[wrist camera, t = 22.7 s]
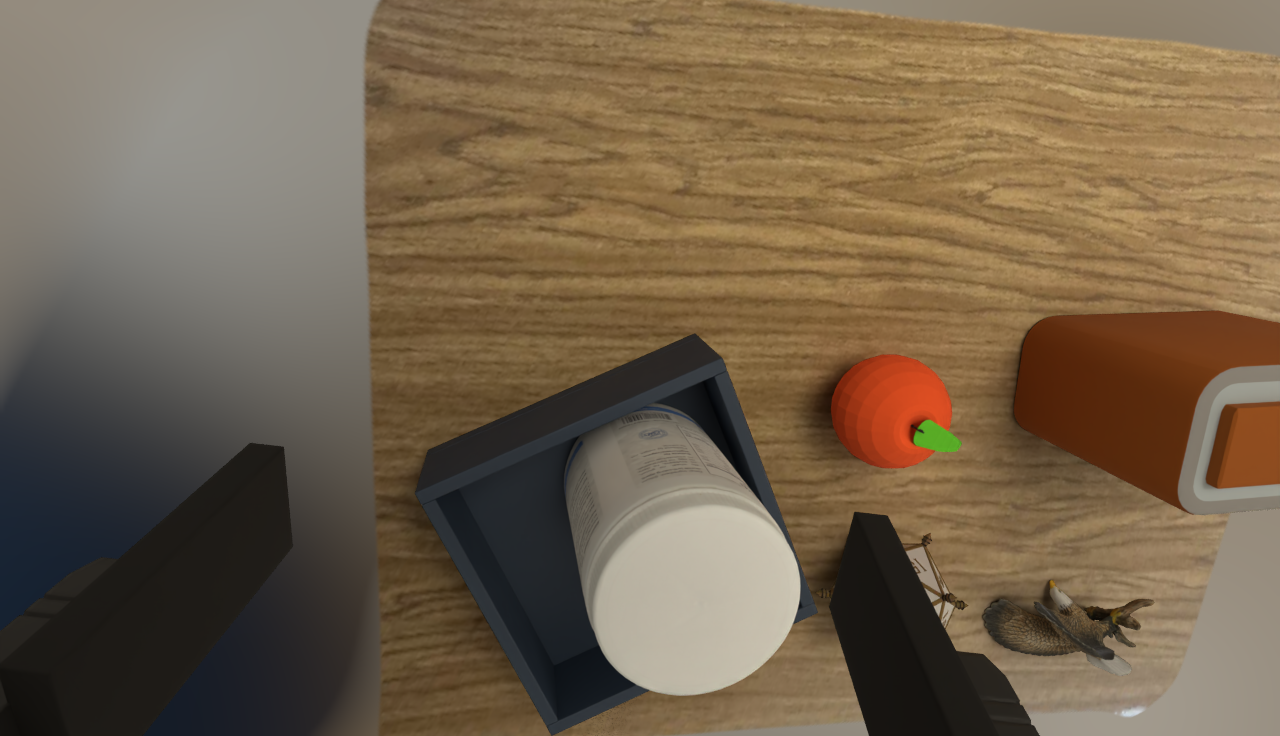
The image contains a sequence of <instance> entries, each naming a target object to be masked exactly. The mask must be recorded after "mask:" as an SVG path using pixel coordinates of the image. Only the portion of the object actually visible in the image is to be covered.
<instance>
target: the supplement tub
mask: <svg viewBox="0 0 1280 736" xmlns="http://www.w3.org/2000/svg"><path fill="white" fill-rule="evenodd" d="M564 491H565V498H566V503H567V509H568V514H569V520H570V525H571V530H572V536H573V541H574V547H575V552H576V558H577V563H578V568H579V574H580V579H581V584H582V590H583V595H584V600H585V605H586V609H587V613H588V617H589V621H590V623H591V626H592V628H593V630H594V632H595V635H596V638H597V641H598V644H599V646H600V648H601V650H602V652H603V654H604V655H605V657H606V658H607V660H608V661H609V662H610V664H611V665H612V666H613V667H614V668H615V669H616V670H617V671H618V672H619V673H620V674H621V675H623V676H624V677H625V678H627V679H628V680H630V681H631V682H633V683H635V684H636V685H638V686H641V687H643V688H645V689H648V690H651V691H654V692H658V693H662V694H670V695H697V694H703V693H708V692H713V691H716V690H719V689H722V688H725V687H727V686H730V685H732V684H734V683H736V682H738V681H740V680H742V679H744V678H746V677H747V676H749V675H750V674H752V673H753V672H754V671H756V670H757V669H758V668H759V667H761V666H762V665H763V664H764V663H765V662H766V661H767V660H768V659H769V658H770V657H771V656H772V655H773V654H774V653H775V652H776V650H777V649H778V648H779V647H780V645H781V644H782V642H783V641H784V640H785V638H786V636H787V634H788V632H789V631H790V629H791V627H792V624H793V622H794V619H795V616H796V613H797V610H798V605H799V600H800V575H799V570H798V565H797V562H796V559H795V557H794V554H793V552H792V550H791V548H790V546H789V544H788V543H787V541H786V539H785V537H784V534H783V532H782V531H781V529H780V528H779V526H778V524H777V523H776V522H775V520H774V519H773V518H772V516H771V515H770V514H769V513H768V511H767V510H766V508H765V507H764V506H763V504H762V503H761V502H760V501H759V499H758V498H757V497H756V496H755V494H754V493H753V492H752V490H751V489H750V488H749V487H748V485H747V484H746V483H745V482H744V480H743V479H742V478H741V477H740V475H739V474H738V473H737V472H736V470H735V469H734V468H733V466H732V465H731V464H730V462H729V461H728V460H727V459H726V458H725V456H724V455H723V454H722V452H721V451H720V450H719V449H718V447H717V446H716V445H715V444H714V443H713V441H712V440H711V439H710V438H709V436H708V435H707V434H706V433H705V431H704V430H703V429H702V428H701V427H700V426H699V425H698V423H696V422H695V421H694V420H693V419H692V418H691V417H689V416H688V415H686V414H685V413H683V412H681V411H679V410H677V409H675V408H672V407H669V406H666V405H663V404H657V403H652V404H650V405H648V406H645V407H643V408H641V409H638V410H636V411H634V412H632V413H629V414H627V415H625V416H623V417H620V418H618V419H616V420H614V421H611V422H609V423H607V424H604V425H602V426H600V427H598V428H595V429H593V430H591V431H589V432H586V433H584V434H582V435H580V436H579V438H578V439H577V441H576V442H575V444H574V446H573V448H572V450H571V452H570V455H569V457H568V460H567V463H566V467H565V473H564Z"/></svg>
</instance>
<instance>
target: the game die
mask: <svg viewBox="0 0 1280 736" xmlns="http://www.w3.org/2000/svg"><path fill="white" fill-rule="evenodd" d="M930 541H932V540H931V533H929V534H927V535H925V536H924V537H923V539H922V543H921V544H902V545H903V547H904V549H905V551H906V553H907V555H908V557H909V559H910V561H911V563H912V565H913V567H914V569H915V571H916V573H917V575H918V577H919V579H920V581H921V583H922V585H923V587H924V588H925V590H926V592H927V594H928V596H929V598H930V600H931V602H932V604H933V606H934V608H935V610H936V612H937V614H938V616H939V618H940V620H941V622H942V624H943V626H944V628H945V630H946V627H947V625H948V623H949V620H950V618H951V616H952V613H953V611H954V609H955V607H956V608H958V609H962V610H963V609H964V608H965V607H967V606H968V605H967V604H965V603H964V602H963V601H957V602H955V599H956V598H957V597H955V596H954V595H953V594H952V593H950V592H949V590H948V588H947V586H946V584H945V582H944V580H943V578H942V576H941V574H940V572H939V570H938V569H937V567H936V565H935V563H934V561H933V559H932V557H931V555H930V553H929V551H928V549H927V547H926V546H927V545H928V544H930V543H929V542H930ZM835 583H836V581H835ZM835 583H834V585H833V587H832V588H831V590H830V591H827V590H826V589H825V590H823V589H821V590H820V591H818V592H816V593H817V594H818V595H820V596H821V597H822V598H823V597H825V598H826V597H828V596H829V597H830V598H832V594H833V590H834V587H835Z"/></svg>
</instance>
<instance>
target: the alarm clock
mask: <svg viewBox="0 0 1280 736" xmlns="http://www.w3.org/2000/svg"><path fill="white" fill-rule="evenodd" d="M1014 414H1015V418H1016V420H1017V422H1018V423H1019V425H1020V426H1021V427H1022V428H1023V429H1025V430H1027V431H1028V432H1030V433H1032V434H1034V435H1036V436H1038V437H1040V438H1042V439H1044V440H1046V441H1048V442H1050V443H1052V444H1054V445H1056V446H1058V447H1060V448H1062V449H1064V450H1066V451H1067V452H1069V453H1071V454H1073V455H1075V456H1077V457H1079V458H1081V459H1083V460H1085V461H1087V462H1089V463H1091V464H1093V465H1095V466H1097V467H1099V468H1101V469H1103V470H1105V471H1107V472H1108V473H1110V474H1112V475H1114V476H1116V477H1118V478H1120V479H1122V480H1124V481H1126V482H1128V483H1130V484H1132V485H1134V486H1136V487H1138V488H1140V489H1142V490H1144V491H1146V492H1147V493H1149V494H1151V495H1153V496H1155V497H1157V498H1159V499H1161V500H1163V501H1165V502H1167V503H1169V504H1171V505H1173V506H1175V507H1177V508H1179V509H1181V510H1183V511H1185V512H1187V513H1190V514H1193V515H1211V514H1223V513H1235V512H1246V511H1258V510H1269V509H1280V323H1277V322H1272V321H1267V320H1262V319H1257V318H1252V317H1247V316H1242V315H1237V314H1232V313H1227V312H1222V311H1190V312H1158V313H1126V314H1095V315H1063V316H1052V317H1048V318H1046V319H1043V320H1041V321H1040V322H1038V323H1037V324H1036V325H1035V326H1034V327H1033V328H1032V329H1031V330H1030V331H1029V333H1028V335H1027V337H1026V339H1025V342H1024V345H1023V350H1022V357H1021V363H1020V370H1019V376H1018V383H1017V389H1016V396H1015V402H1014Z"/></svg>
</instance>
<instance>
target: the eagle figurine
mask: <svg viewBox="0 0 1280 736" xmlns="http://www.w3.org/2000/svg"><path fill="white" fill-rule="evenodd" d="M1049 584H1050V596H1051V598H1052V599H1053V600H1054V602H1055V603H1056V605H1057V607H1058V608H1059V610H1060V613H1058V612H1057V611H1055V610H1051V609H1048V608H1046V607H1045V606H1044V605H1042V604H1040V603H1039V602H1034V604H1035V605H1034V606H1035V608H1036V610H1037V611H1038V612H1039V613H1041V614H1042V615H1044V616H1046V618H1047V619H1046V618H1043V617H1040V616H1037V615H1034V614H1031V613H1028V612H1026V611H1024V610H1023V609H1021V608H1020V607H1018V606H1017V605H1014V604H1013V603H1011V602H1009V601H1007V600H1005V599H1000V600H999V602H994V603H992V605H991V608H987V609H986V610H985V613H986V614H985V615H984V616H983V619H984V620H985V621H986V622H987V623H986V624H985V627H986V628H987V629H989V630H991V631H992V632H990V635H991V636H993V637H995V638H994V640H995V641H997V642H998V643H999V644H1001V645H1003V646H1004V647H1005V648H1009V649H1011V650H1012V651H1018V652H1021V653H1025V654H1032V655H1038V656H1041V655H1043V656H1051V655H1052V656H1056V655H1063V654H1068V653H1073V652H1075V651H1077V652H1079V651H1082V652H1084V653H1086V657H1087V660H1088V661H1089V662H1090V663H1091V664H1093V665H1094V666H1096V667H1098V668H1101V669H1103V670H1106V671H1108V672H1109V673H1112V674H1115V675H1118V676H1123V675H1128V674H1129V673H1130V672H1131V670H1132V668H1131V665H1130V664H1129V663H1128V662H1126V661H1125V660H1124V659H1122V658H1120V657H1119V656H1117V655H1115V653H1114V651H1113V650H1111V649H1109V648H1107V647H1105V645H1104V643H1103V638H1104V637H1105V636H1106V635H1108V636H1109V637H1110V638H1113V634H1114V635H1115V638H1116V639H1117V641H1118V642H1122V643H1124V644H1125V645H1127V646H1129V647H1136V645H1135V644H1133V643H1132V642H1130V641H1129V640H1127V638H1126V637H1125V636H1124V635H1123V633H1122V631H1121V629H1120V627H1119V626H1118V625H1119V624H1120V625H1122V626H1124V627H1126V628H1131V629H1134V630H1139V629H1140V628H1141V626H1140V624H1139V622H1138V621H1137V620H1136V619H1134V618H1133V617H1131V616H1130V614H1131V613H1132V612H1134V611H1136V610H1137V609H1139V608H1142V607H1147V606H1151V605H1153V604H1154V601H1153V600H1149V599H1137V600H1134V601H1132V602H1129V603H1128V604H1126V605H1125V606H1122V607H1119V608H1115V609H1103V608H1099V607H1093V606H1091V607H1088V608H1085V609H1084V610H1085V611H1086V612H1087V614H1086V613H1085V612H1084V611H1083V610H1082V609H1081V608H1080V607H1079V606H1078V605H1077V604H1075V603H1074V602H1073V601H1072V600H1071V599H1070V598H1069V597H1068V596H1067V595H1065V594H1064V593H1063V592H1062V590H1060V589H1059V588H1058V587H1057V586H1056V585H1055V584H1054V581H1053V580H1050V582H1049ZM1094 620H1099V621H1094Z"/></svg>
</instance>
